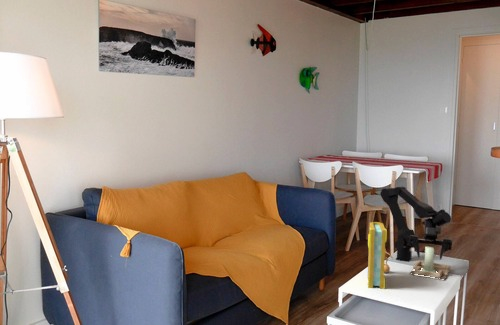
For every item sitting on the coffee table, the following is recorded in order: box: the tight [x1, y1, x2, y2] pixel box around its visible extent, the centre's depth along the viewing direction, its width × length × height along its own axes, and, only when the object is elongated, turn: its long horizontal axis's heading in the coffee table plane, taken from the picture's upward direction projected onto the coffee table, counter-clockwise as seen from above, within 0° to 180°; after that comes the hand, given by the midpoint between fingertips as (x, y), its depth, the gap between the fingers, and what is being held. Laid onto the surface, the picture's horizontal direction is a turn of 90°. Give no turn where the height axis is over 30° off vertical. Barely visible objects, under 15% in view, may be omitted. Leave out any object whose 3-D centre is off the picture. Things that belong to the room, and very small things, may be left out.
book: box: [367, 221, 388, 290], centre depth 205 cm, size 17×7×25 cm, turn 168°
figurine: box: [384, 248, 394, 274], centre depth 218 cm, size 8×6×12 cm
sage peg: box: [422, 245, 436, 273], centre depth 217 cm, size 6×6×12 cm
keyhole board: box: [409, 260, 451, 280], centre depth 221 cm, size 15×18×2 cm
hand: (429, 258), depth 215 cm, fingers open, 9 cm apart
